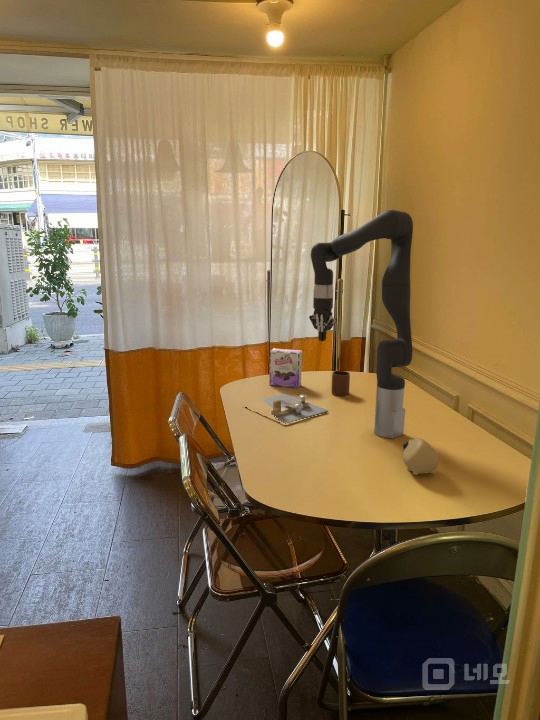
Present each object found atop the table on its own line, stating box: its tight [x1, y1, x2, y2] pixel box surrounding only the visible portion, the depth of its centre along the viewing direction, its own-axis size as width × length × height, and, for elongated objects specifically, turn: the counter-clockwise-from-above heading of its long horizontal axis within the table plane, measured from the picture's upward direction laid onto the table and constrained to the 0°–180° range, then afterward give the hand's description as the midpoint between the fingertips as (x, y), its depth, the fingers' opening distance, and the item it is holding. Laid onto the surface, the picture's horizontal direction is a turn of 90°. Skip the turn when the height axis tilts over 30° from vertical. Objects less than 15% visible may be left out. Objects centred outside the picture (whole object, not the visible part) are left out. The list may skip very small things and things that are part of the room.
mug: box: [331, 369, 351, 397], centre depth 218 cm, size 12×8×9 cm, turn 6°
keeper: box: [281, 394, 308, 415], centre depth 194 cm, size 10×10×4 cm
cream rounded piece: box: [402, 437, 440, 476], centre depth 146 cm, size 10×12×11 cm
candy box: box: [268, 347, 303, 389], centre depth 226 cm, size 14×6×16 cm, turn 73°
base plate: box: [260, 393, 329, 424], centre depth 197 cm, size 26×22×1 cm
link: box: [271, 399, 310, 417], centre depth 193 cm, size 18×5×6 cm, turn 132°
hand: (322, 340), depth 195 cm, fingers closed
